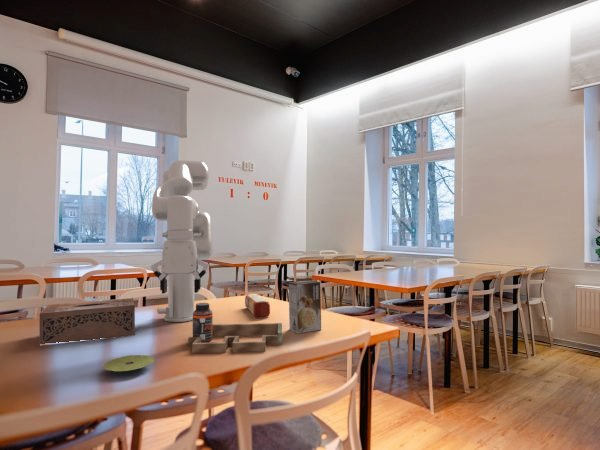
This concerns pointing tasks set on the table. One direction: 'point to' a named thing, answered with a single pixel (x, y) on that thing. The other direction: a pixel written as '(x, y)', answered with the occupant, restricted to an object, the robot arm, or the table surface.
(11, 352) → the table surface
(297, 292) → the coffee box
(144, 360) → the green disc
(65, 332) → the tissue box cover
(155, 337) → the table surface
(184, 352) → the table surface
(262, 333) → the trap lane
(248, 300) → the snack package
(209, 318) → the supplement bottle
